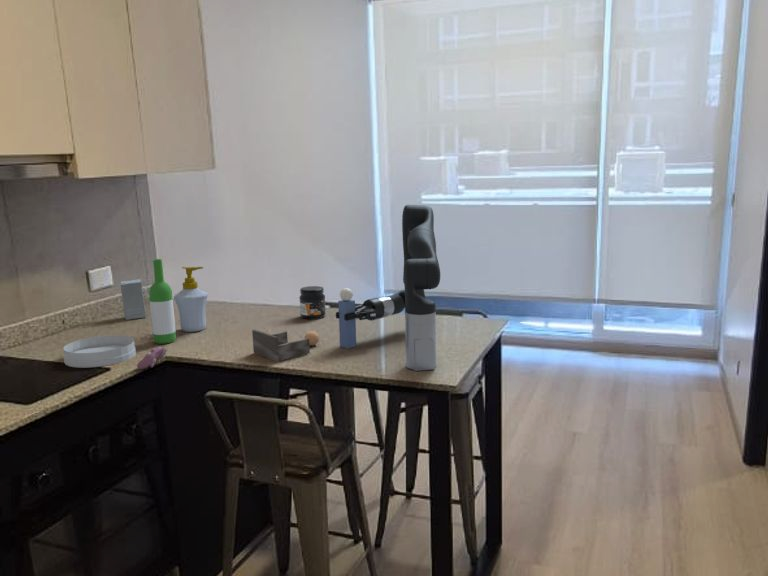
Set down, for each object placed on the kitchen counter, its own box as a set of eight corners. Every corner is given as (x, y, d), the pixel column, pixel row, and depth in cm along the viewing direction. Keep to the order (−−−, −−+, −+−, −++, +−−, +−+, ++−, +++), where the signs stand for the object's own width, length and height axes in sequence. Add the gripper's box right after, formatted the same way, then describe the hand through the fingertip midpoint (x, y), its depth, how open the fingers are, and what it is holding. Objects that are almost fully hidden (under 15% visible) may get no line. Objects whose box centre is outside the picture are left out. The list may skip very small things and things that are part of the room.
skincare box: (144, 314, 276) (141, 278, 273) (146, 318, 269) (142, 281, 266) (123, 317, 272) (120, 280, 269) (124, 320, 266) (120, 283, 263)
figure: (349, 343, 223) (347, 286, 219) (357, 346, 220) (355, 287, 216) (339, 346, 220) (336, 288, 216) (347, 348, 217) (345, 289, 213)
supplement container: (298, 320, 259) (297, 291, 257) (301, 314, 270) (300, 286, 267) (324, 319, 259) (323, 290, 257) (326, 313, 270) (325, 285, 267)
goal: (286, 345, 223) (284, 322, 222) (309, 353, 213) (308, 329, 212) (253, 353, 215) (252, 330, 213) (276, 361, 205) (275, 337, 203)
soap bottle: (204, 333, 242) (199, 269, 237) (171, 334, 242) (165, 269, 237) (214, 325, 254) (210, 263, 249) (183, 325, 255) (178, 264, 250)
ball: (320, 346, 220) (319, 332, 219) (305, 348, 219) (304, 333, 218) (318, 343, 225) (317, 329, 224) (304, 344, 224) (303, 330, 223)
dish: (72, 352, 223) (70, 338, 222) (139, 346, 228) (138, 332, 227) (57, 371, 201) (55, 356, 200) (131, 364, 207) (130, 349, 206)
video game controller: (147, 375, 200) (154, 356, 198) (134, 368, 200) (142, 349, 198) (163, 365, 209) (170, 347, 208) (151, 359, 210) (158, 340, 208)
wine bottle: (151, 345, 228) (142, 261, 222) (157, 339, 235) (149, 258, 230) (173, 344, 228) (165, 260, 223) (178, 338, 236) (171, 257, 230)
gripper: (365, 295, 232) (327, 302, 221) (391, 300, 222) (353, 308, 210) (365, 315, 233) (328, 323, 222) (392, 321, 223) (354, 331, 212)
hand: (340, 316), depth 216 cm, fingers closed on figure, 4 cm apart
